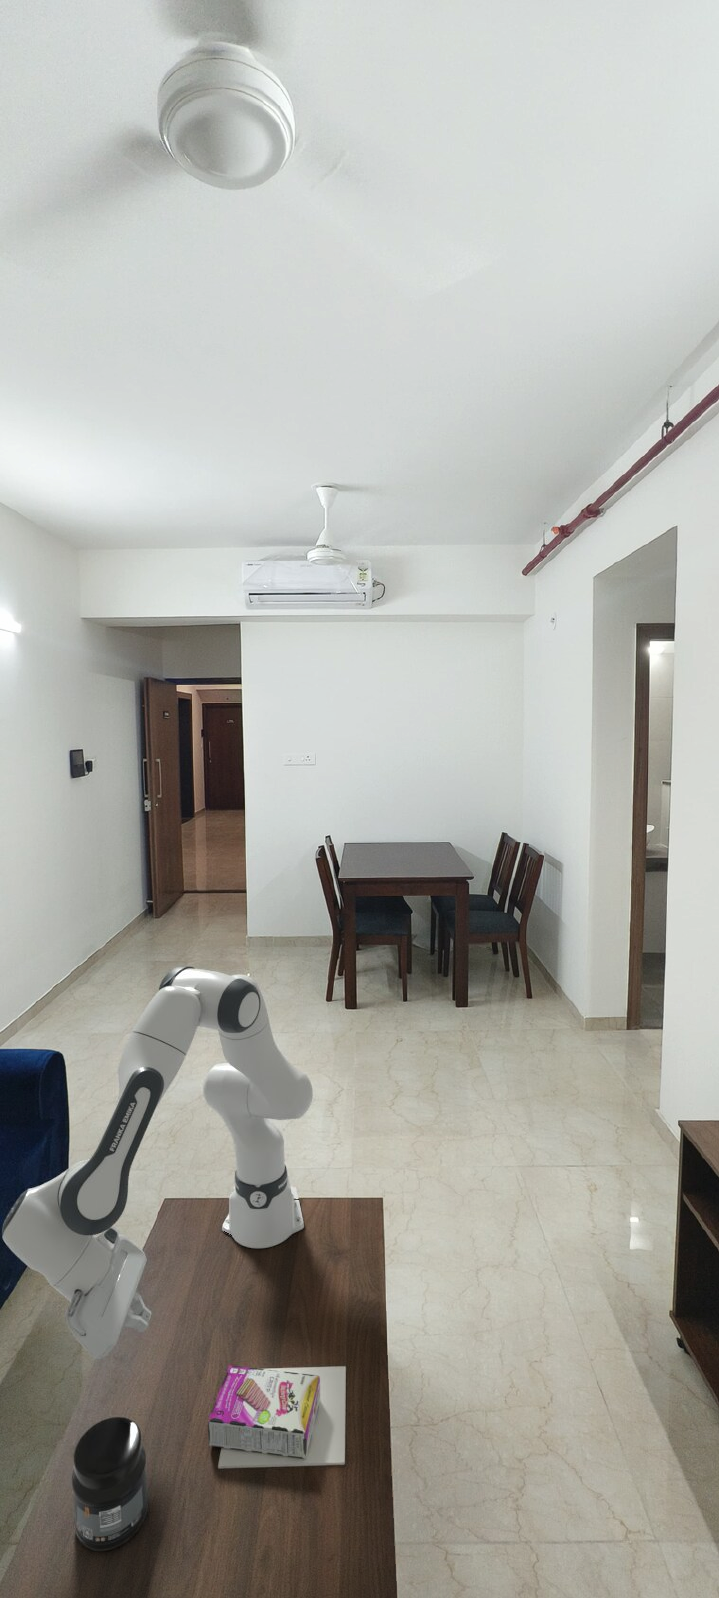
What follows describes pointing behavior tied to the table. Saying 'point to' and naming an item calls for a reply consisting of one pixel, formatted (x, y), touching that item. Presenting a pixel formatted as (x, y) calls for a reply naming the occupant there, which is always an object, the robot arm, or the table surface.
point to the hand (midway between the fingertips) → (147, 1323)
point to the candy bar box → (265, 1411)
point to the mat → (326, 1431)
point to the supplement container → (109, 1484)
